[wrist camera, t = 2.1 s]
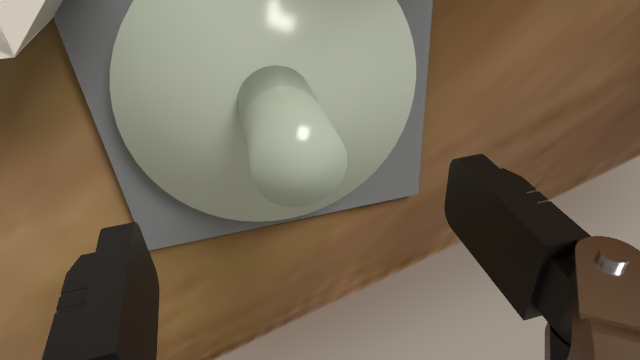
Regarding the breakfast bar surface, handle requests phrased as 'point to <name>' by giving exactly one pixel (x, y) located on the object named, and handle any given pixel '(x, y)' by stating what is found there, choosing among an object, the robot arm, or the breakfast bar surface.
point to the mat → (159, 206)
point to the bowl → (23, 23)
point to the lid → (262, 99)
